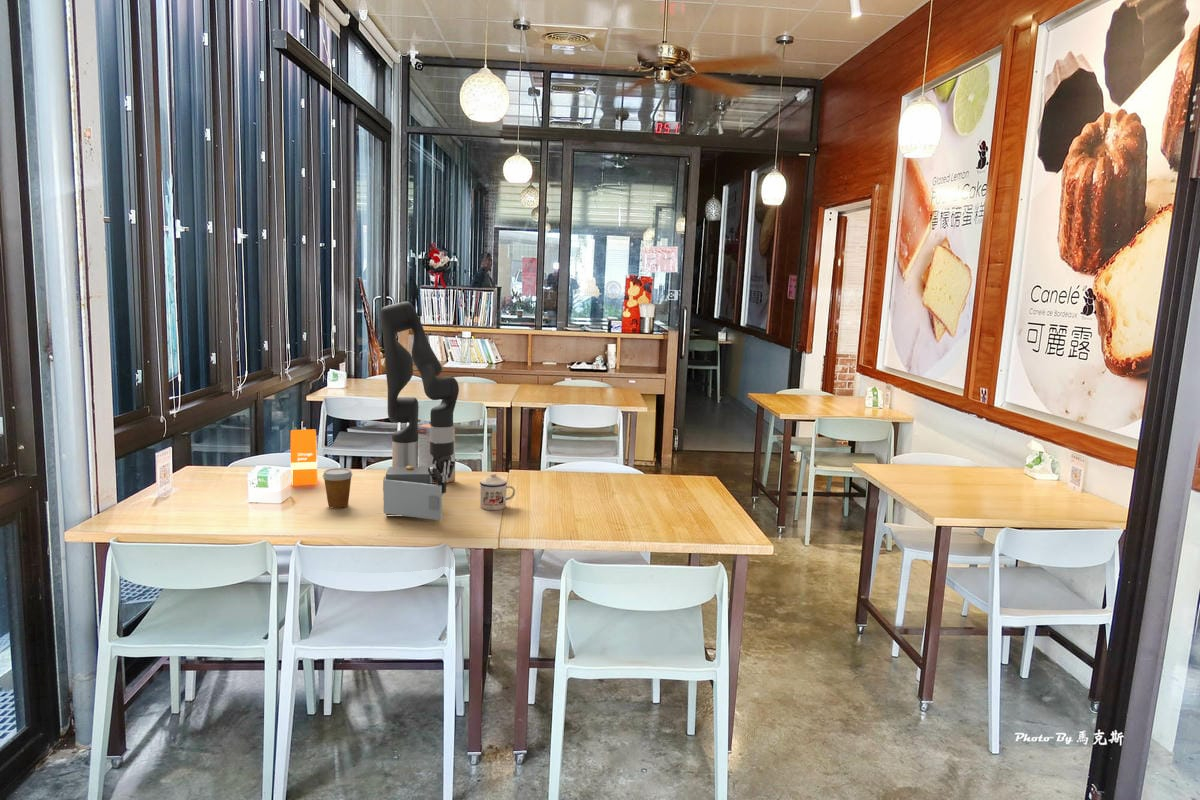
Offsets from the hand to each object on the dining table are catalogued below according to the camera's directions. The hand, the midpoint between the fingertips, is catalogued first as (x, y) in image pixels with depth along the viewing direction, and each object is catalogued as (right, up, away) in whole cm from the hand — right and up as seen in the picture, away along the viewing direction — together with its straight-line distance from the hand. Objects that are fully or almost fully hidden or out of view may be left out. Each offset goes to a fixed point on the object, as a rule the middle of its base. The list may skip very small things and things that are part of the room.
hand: (441, 492), depth 250 cm
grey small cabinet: (-13, -7, +10) cm, 18 cm away
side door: (-9, -8, 0) cm, 12 cm away
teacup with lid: (+15, -7, +18) cm, 25 cm away
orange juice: (-59, -1, +41) cm, 72 cm away
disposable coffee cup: (-38, -6, +14) cm, 41 cm away
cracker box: (-12, -1, +51) cm, 52 cm away
